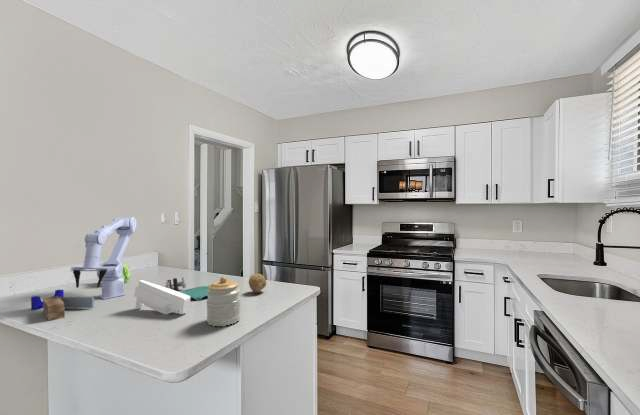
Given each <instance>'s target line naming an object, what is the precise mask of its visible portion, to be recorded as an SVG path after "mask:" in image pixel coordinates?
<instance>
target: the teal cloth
mask: <svg viewBox="0 0 640 415" xmlns="http://www.w3.org/2000/svg"><path fill="white" fill-rule="evenodd" d="M208 287H209V285H205V286H195V287H192V288H187V289H185V290H183V291H182V290H181V291H179V292H180V293H183V294H186V295H189V296H190V297H191V299H190V300H195V301H197V300H199V301H202V299H203V298H208V296H207V295H206V292H207V291H209V288H208Z"/></svg>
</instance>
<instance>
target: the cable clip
mask: <svg viewBox="0 0 640 415" xmlns="http://www.w3.org/2000/svg"><path fill="white" fill-rule="evenodd" d="M53 294H54V295H53V296H52V297H55V296H58V297H65V296H64V295H65V294H64V289H56V290H54V293H53ZM30 305H31V307H30V309H31V310H32V311H37V310H43V300H42V299H41V296H39V295H33V296H31V297H30Z"/></svg>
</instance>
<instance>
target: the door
mask: <svg viewBox="0 0 640 415" xmlns="http://www.w3.org/2000/svg"><path fill="white" fill-rule="evenodd" d="M59 298H60V299H61V300H62V301H63V302H64V309H90V308H91V309H92V308H94V306H95V299H94V296H64V297H59Z"/></svg>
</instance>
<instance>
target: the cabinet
mask: <svg viewBox="0 0 640 415" xmlns="http://www.w3.org/2000/svg"><path fill="white" fill-rule="evenodd" d="M42 302H43V308H42V310H43V314H44V316H45V317H46V319H47V321H48V322H51V321H55V320H59V319H63V318H65V315H66V314H65V308H64V302H63V301H62V300H61V299H60V298H59V297H58V296H55V297H53V296H50V297H46V298H45V297H44V298H42Z"/></svg>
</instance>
